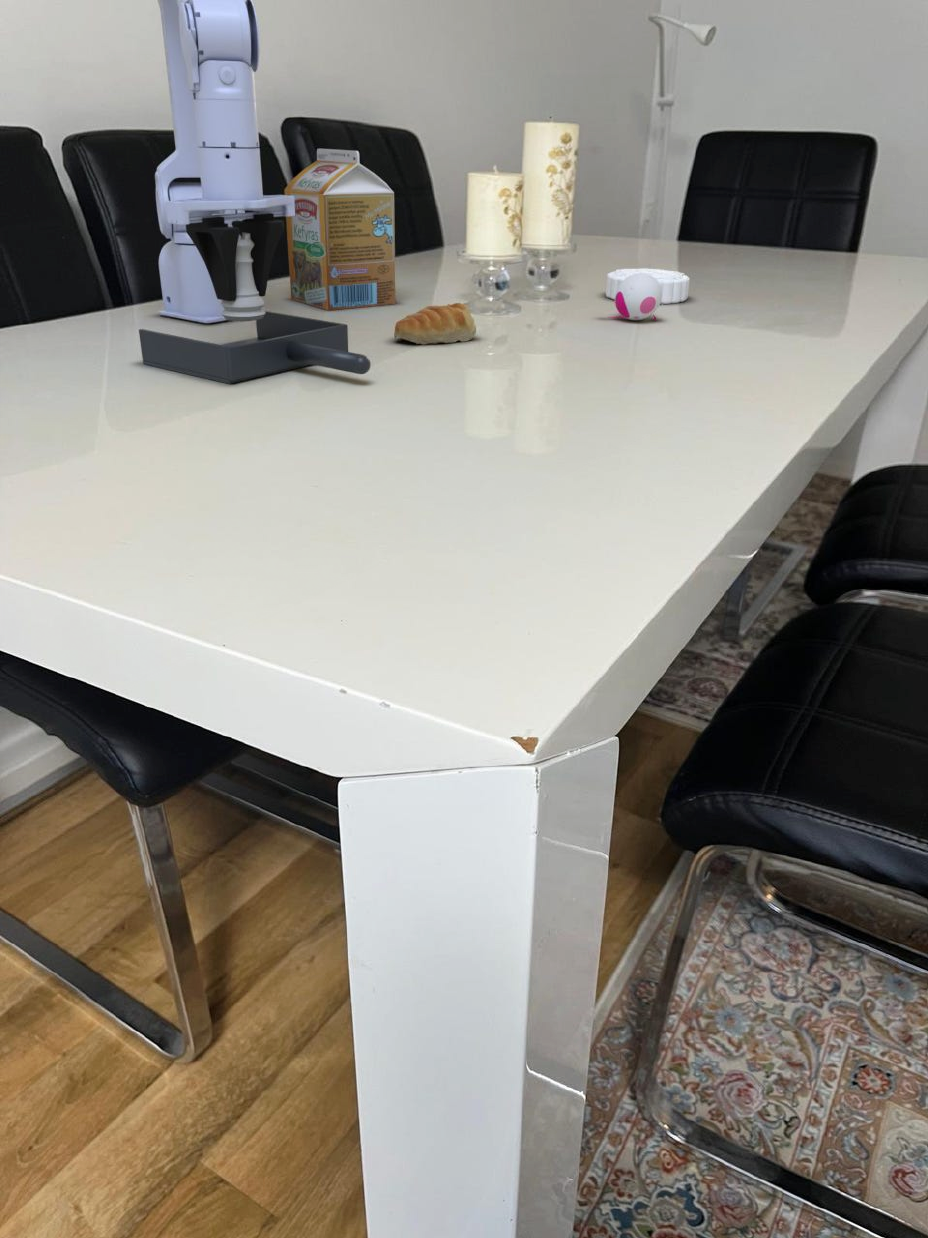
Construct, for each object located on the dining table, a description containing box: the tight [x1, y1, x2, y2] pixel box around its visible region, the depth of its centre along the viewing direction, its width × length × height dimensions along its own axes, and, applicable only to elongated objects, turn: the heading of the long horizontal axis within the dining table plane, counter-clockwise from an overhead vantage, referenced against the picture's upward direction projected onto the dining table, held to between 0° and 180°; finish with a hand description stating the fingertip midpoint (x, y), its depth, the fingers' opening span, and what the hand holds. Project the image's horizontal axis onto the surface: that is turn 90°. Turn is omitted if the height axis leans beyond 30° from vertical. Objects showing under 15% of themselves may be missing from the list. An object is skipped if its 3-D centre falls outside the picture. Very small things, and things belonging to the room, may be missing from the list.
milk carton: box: [284, 148, 396, 312], centre depth 129 cm, size 11×11×19 cm
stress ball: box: [608, 273, 662, 322], centre depth 124 cm, size 8×8×7 cm
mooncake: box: [605, 267, 691, 305], centre depth 141 cm, size 12×12×4 cm
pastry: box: [393, 302, 477, 346], centre depth 110 cm, size 9×7×4 cm
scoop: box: [138, 310, 372, 385], centre depth 96 cm, size 23×16×3 cm
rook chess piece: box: [221, 233, 266, 322], centre depth 96 cm, size 4×4×8 cm
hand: (241, 297), depth 97 cm, fingers closed on rook chess piece, 3 cm apart
